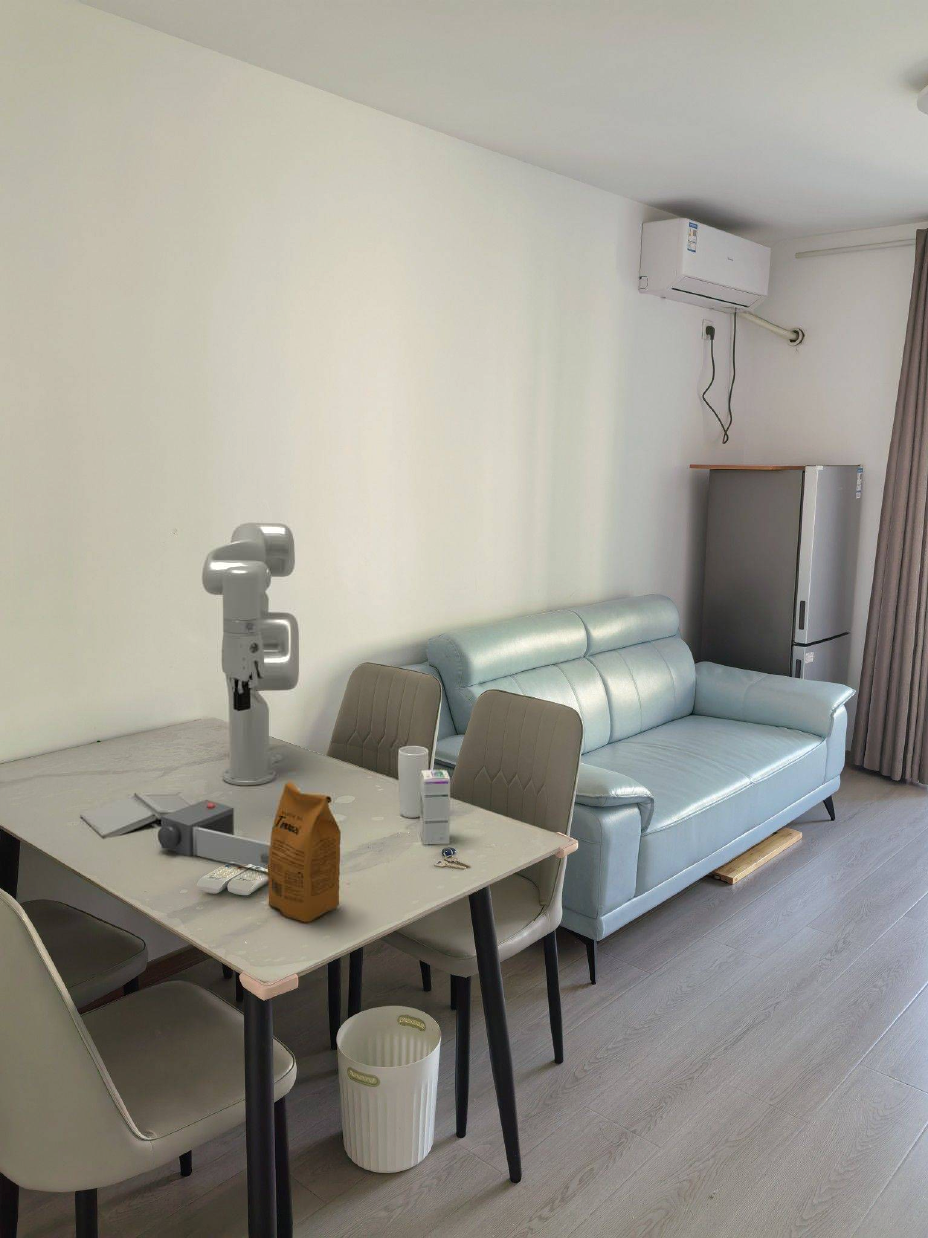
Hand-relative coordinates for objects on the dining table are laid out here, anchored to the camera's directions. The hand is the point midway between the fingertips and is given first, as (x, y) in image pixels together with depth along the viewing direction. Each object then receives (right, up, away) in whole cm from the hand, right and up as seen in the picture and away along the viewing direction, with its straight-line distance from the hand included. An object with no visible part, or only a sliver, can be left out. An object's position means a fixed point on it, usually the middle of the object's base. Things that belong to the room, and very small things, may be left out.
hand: (242, 709), depth 204 cm
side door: (+3, -28, -19) cm, 34 cm away
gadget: (-22, -25, +4) cm, 34 cm away
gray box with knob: (-7, -26, -9) cm, 29 cm away
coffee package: (+19, -32, -35) cm, 51 cm away
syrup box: (+41, -27, -3) cm, 50 cm away
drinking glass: (+36, -25, +11) cm, 45 cm away
